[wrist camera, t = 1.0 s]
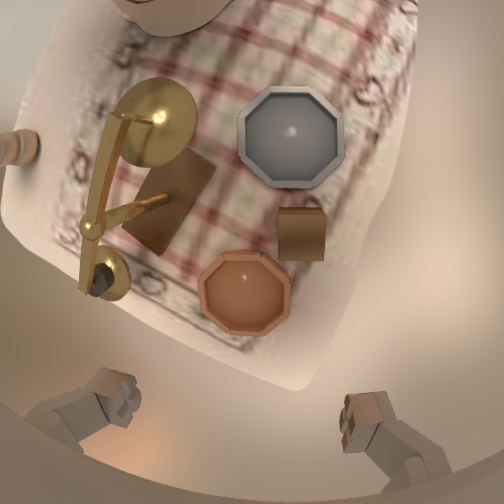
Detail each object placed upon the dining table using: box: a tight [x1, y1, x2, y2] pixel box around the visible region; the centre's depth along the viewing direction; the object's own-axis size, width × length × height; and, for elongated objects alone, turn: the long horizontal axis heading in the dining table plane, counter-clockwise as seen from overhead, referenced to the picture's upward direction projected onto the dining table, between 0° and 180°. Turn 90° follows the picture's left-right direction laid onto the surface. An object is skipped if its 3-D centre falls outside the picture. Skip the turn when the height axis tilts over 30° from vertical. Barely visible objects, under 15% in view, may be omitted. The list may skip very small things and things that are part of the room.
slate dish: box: [237, 86, 345, 188], centre depth 29 cm, size 12×12×2 cm
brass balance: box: [79, 78, 217, 301], centre depth 25 cm, size 26×7×19 cm, turn 144°
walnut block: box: [278, 207, 326, 261], centre depth 31 cm, size 5×5×5 cm
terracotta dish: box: [198, 250, 291, 337], centre depth 36 cm, size 12×12×2 cm
